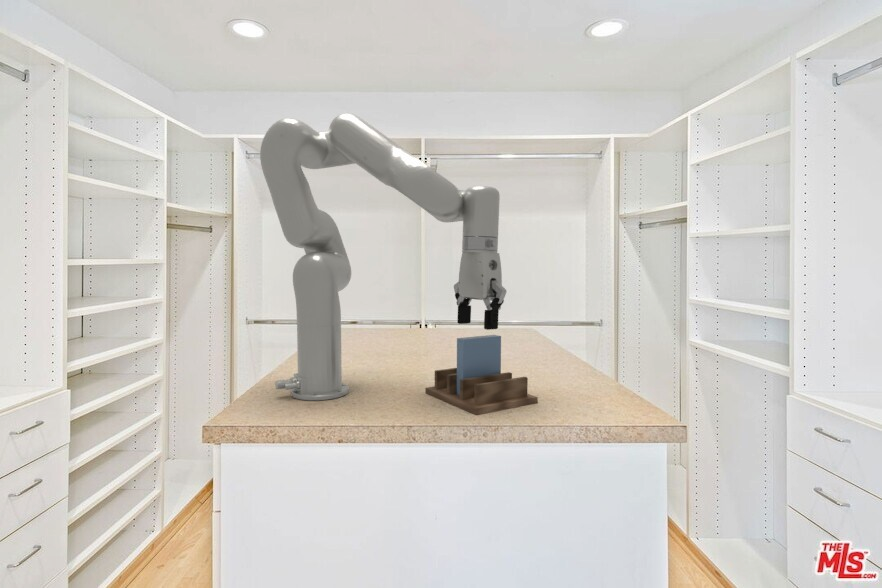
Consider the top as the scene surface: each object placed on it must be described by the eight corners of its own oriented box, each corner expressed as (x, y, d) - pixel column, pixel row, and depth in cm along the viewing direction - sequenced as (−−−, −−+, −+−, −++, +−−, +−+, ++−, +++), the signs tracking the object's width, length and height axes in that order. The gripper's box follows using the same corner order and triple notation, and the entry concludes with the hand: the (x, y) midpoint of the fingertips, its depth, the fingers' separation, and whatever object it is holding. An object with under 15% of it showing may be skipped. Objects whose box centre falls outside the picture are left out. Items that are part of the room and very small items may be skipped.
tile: (463, 396, 103) (463, 339, 102) (456, 394, 105) (456, 338, 104) (500, 390, 108) (501, 336, 107) (493, 388, 110) (494, 334, 109)
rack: (475, 414, 94) (475, 388, 94) (425, 393, 110) (425, 370, 110) (537, 402, 103) (537, 378, 102) (482, 383, 119) (482, 362, 118)
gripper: (520, 246, 99) (516, 330, 100) (470, 247, 114) (467, 320, 115) (491, 244, 95) (487, 332, 96) (443, 245, 110) (440, 322, 111)
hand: (476, 326), depth 106 cm, fingers open, 9 cm apart
